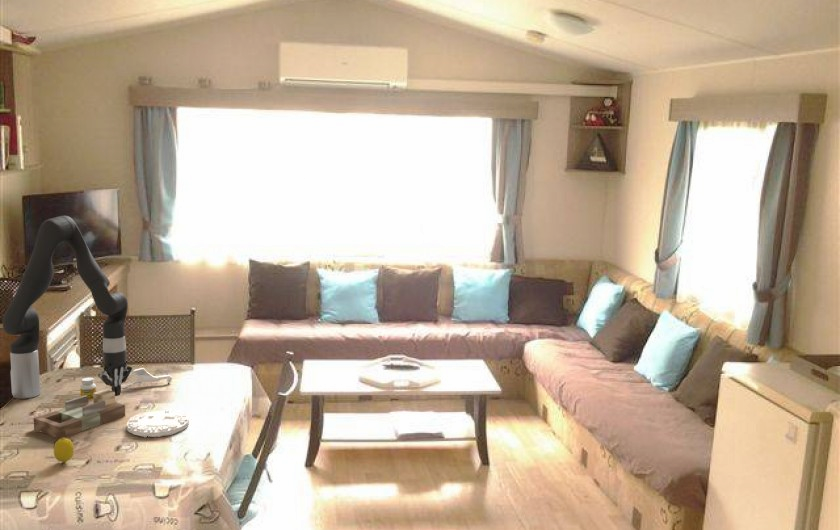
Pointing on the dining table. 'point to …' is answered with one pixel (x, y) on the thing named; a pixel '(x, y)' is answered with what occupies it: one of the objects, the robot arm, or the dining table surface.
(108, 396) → the maple block
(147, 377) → the llama figurine
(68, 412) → the walnut deck
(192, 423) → the dining table surface
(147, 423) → the white flat round disc
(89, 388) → the supplement bottle
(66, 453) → the lemon
